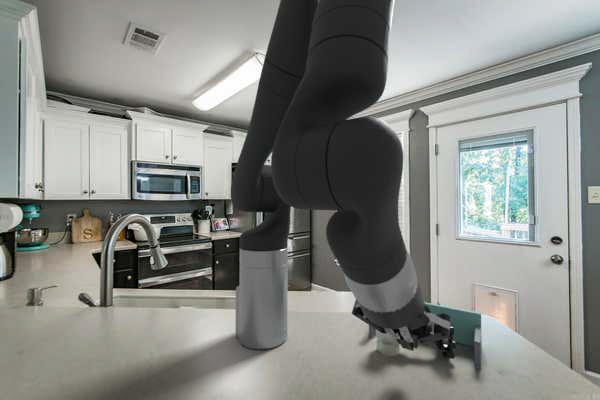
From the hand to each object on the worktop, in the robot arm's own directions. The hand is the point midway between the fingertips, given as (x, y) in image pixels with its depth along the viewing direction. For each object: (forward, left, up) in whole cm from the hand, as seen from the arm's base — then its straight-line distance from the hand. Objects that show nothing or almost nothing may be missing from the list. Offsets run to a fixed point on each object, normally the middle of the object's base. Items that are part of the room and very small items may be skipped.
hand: (409, 342), depth 41 cm
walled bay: (0, +12, -4) cm, 12 cm away
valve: (-1, +6, -5) cm, 8 cm away
